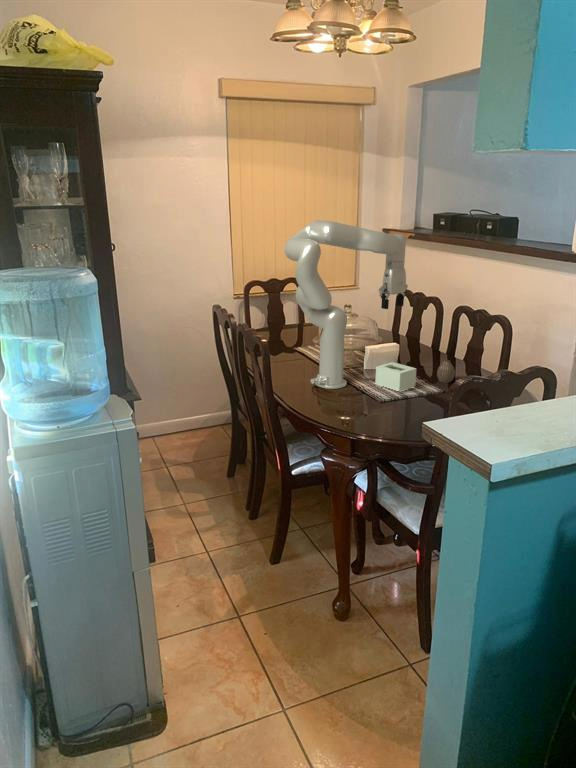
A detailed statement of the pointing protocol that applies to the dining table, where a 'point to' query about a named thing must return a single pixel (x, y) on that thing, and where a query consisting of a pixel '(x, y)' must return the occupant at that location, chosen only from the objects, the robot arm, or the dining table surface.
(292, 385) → the dining table surface
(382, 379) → the coin box
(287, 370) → the dining table surface
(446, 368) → the vase
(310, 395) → the dining table surface
